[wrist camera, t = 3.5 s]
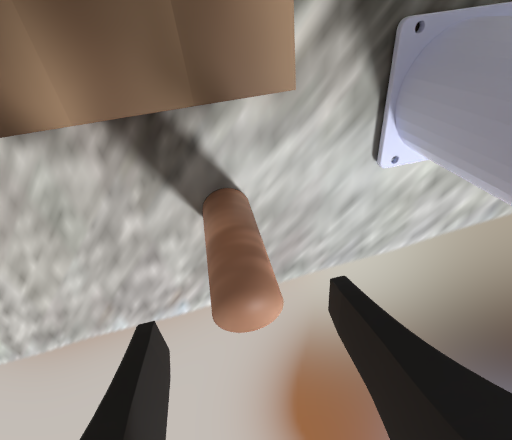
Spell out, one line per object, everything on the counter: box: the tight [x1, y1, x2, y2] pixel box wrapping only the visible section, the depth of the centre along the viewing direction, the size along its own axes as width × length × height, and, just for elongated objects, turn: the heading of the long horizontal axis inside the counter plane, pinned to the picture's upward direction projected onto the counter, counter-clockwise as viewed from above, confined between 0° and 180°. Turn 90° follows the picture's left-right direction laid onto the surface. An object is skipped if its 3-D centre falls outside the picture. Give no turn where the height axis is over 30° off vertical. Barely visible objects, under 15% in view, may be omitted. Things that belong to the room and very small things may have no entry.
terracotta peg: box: [203, 188, 283, 333], centre depth 15 cm, size 3×3×8 cm
